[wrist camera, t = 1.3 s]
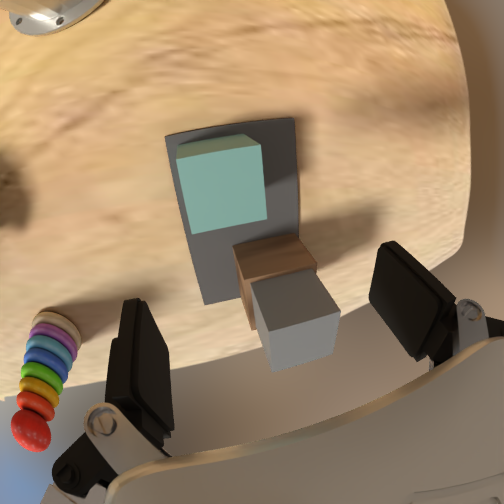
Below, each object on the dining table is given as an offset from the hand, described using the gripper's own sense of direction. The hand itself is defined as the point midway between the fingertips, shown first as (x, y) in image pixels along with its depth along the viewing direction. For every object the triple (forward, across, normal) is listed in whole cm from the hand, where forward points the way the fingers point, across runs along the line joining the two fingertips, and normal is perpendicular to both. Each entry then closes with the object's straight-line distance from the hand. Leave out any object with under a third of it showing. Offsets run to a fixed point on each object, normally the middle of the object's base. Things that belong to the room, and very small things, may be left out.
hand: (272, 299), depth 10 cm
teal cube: (+18, 0, 0) cm, 18 cm away
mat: (+18, -2, +6) cm, 19 cm away
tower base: (+18, -4, +12) cm, 22 cm away
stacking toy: (+18, +26, +16) cm, 36 cm away
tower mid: (+12, -4, +12) cm, 17 cm away
